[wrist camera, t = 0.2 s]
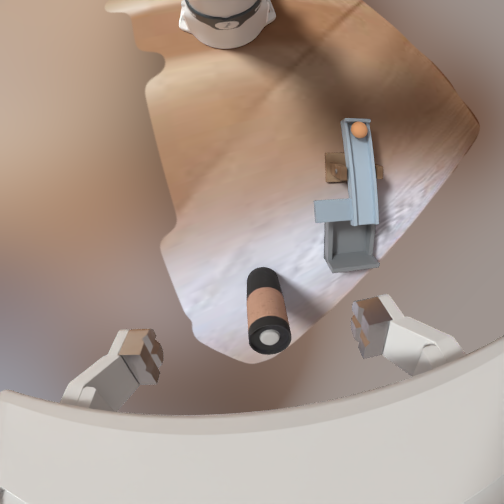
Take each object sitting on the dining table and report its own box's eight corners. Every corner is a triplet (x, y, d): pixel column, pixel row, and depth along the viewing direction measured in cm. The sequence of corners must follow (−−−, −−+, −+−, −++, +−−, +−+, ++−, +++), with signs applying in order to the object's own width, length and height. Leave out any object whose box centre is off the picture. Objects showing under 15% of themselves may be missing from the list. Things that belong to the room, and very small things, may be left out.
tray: (324, 207, 57) (334, 218, 51) (370, 204, 57) (384, 215, 51) (324, 257, 63) (332, 273, 57) (367, 253, 63) (379, 267, 56)
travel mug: (285, 280, 65) (300, 340, 47) (260, 299, 67) (267, 360, 49) (264, 259, 62) (273, 317, 44) (239, 279, 64) (239, 340, 47)
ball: (347, 122, 46) (353, 119, 43) (362, 123, 46) (369, 120, 43) (349, 138, 47) (355, 137, 44) (364, 139, 47) (371, 137, 44)
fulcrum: (324, 152, 52) (336, 157, 46) (370, 152, 52) (386, 157, 46) (325, 181, 55) (336, 189, 49) (370, 179, 55) (385, 187, 48)
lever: (305, 121, 47) (308, 117, 44) (364, 122, 47) (370, 119, 44) (315, 227, 51) (319, 229, 48) (374, 223, 51) (380, 224, 48)
